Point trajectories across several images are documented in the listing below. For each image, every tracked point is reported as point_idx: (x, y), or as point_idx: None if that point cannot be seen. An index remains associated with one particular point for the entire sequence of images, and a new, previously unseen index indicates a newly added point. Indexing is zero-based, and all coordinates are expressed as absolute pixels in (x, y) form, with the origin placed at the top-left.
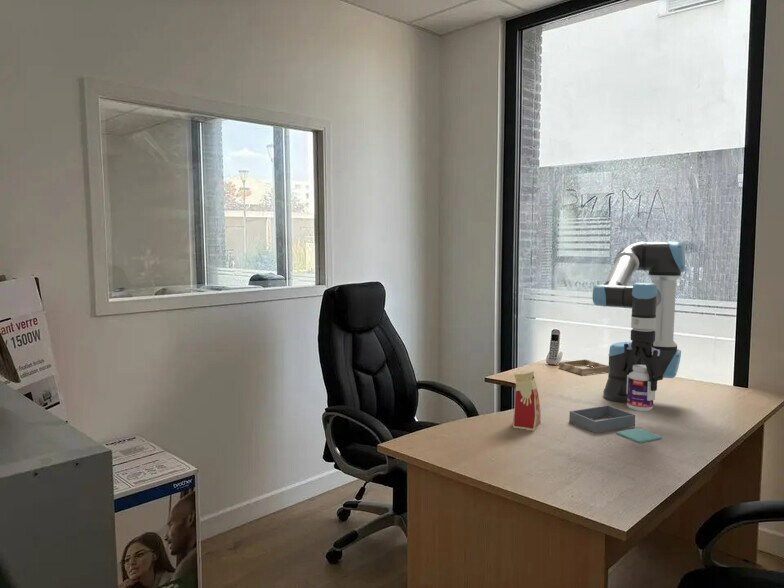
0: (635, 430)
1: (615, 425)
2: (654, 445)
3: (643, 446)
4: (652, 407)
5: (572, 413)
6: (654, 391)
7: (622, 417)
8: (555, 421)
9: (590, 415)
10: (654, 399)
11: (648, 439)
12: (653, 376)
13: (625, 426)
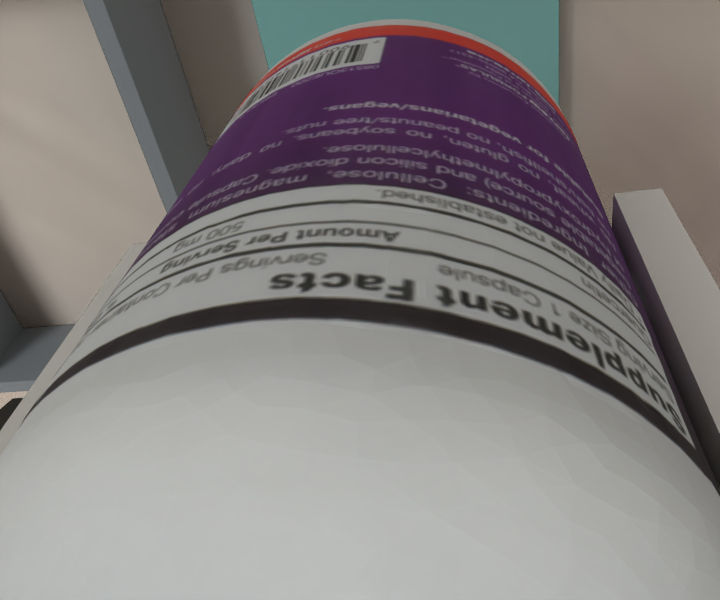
0: (301, 14)
1: (194, 156)
2: (657, 80)
3: (626, 183)
4: (556, 102)
5: (8, 386)
6: (716, 308)
7: (141, 99)
8: (11, 397)
9: None
10: (660, 198)
11: (554, 65)
12: (709, 591)
13: (162, 22)
